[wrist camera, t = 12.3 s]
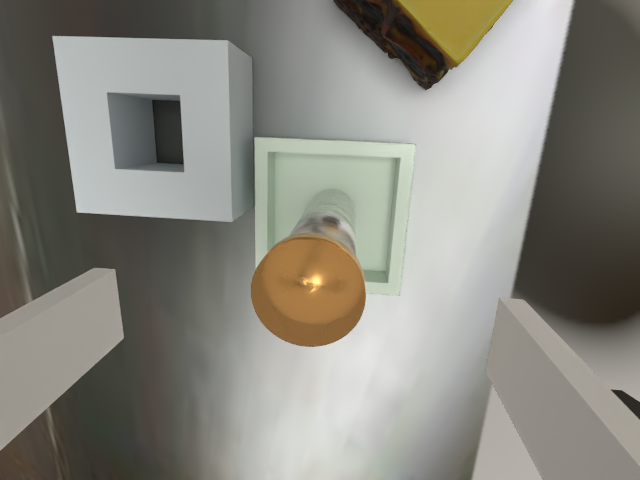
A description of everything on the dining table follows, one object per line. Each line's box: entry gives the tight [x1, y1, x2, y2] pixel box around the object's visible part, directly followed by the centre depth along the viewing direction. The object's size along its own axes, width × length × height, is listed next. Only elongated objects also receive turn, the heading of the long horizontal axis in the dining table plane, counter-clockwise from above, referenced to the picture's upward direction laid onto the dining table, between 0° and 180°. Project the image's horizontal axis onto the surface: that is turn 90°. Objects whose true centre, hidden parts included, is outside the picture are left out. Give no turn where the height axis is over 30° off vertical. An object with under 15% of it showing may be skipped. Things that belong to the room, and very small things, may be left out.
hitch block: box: [52, 36, 254, 222], centre depth 29 cm, size 12×12×6 cm
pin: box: [251, 189, 366, 347], centre depth 24 cm, size 5×5×17 cm
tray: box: [255, 137, 416, 296], centre depth 31 cm, size 12×12×3 cm
